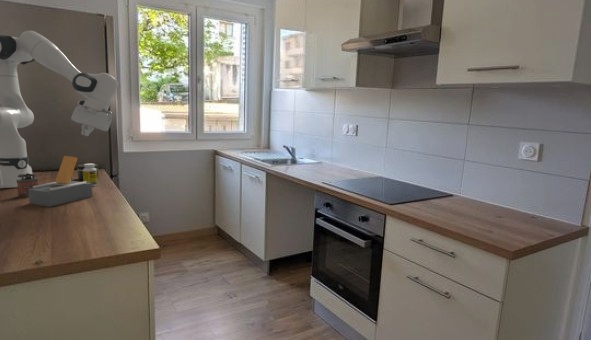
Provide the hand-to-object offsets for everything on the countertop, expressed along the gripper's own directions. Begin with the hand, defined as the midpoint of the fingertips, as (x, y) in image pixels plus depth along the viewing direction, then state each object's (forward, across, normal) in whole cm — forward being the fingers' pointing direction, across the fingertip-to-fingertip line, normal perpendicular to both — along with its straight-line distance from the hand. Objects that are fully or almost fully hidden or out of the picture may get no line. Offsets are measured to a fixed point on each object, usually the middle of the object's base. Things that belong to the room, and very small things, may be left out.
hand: (84, 135), depth 173 cm
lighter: (+34, +15, 0) cm, 37 cm away
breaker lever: (+24, -4, +3) cm, 24 cm away
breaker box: (+30, -5, +1) cm, 30 cm away
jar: (+19, +25, -36) cm, 48 cm away
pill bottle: (+22, +9, -24) cm, 34 cm away
